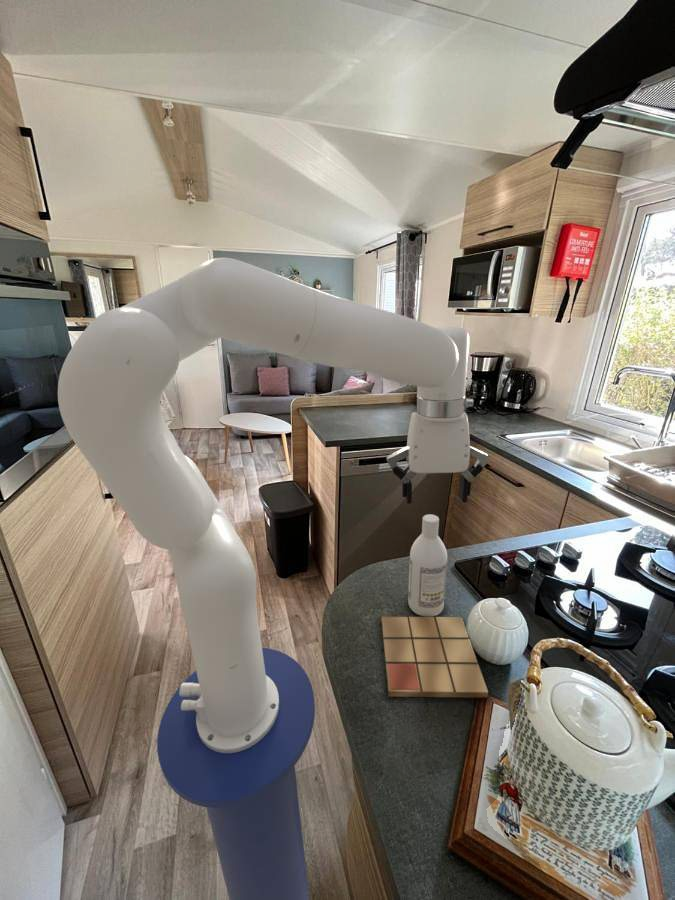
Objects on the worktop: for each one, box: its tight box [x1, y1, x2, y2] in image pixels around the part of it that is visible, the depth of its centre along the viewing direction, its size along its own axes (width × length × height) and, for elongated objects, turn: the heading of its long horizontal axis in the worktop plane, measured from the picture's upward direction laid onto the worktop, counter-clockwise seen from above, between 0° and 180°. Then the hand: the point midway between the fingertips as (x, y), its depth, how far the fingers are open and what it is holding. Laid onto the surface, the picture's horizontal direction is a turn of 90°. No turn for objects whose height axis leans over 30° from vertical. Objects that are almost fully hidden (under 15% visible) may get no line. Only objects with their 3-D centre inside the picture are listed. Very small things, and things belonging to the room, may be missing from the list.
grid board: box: [381, 615, 489, 699], centre depth 65 cm, size 15×15×1 cm
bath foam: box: [407, 513, 448, 617], centre depth 73 cm, size 7×7×20 cm
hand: (435, 499), depth 68 cm, fingers open, 9 cm apart
